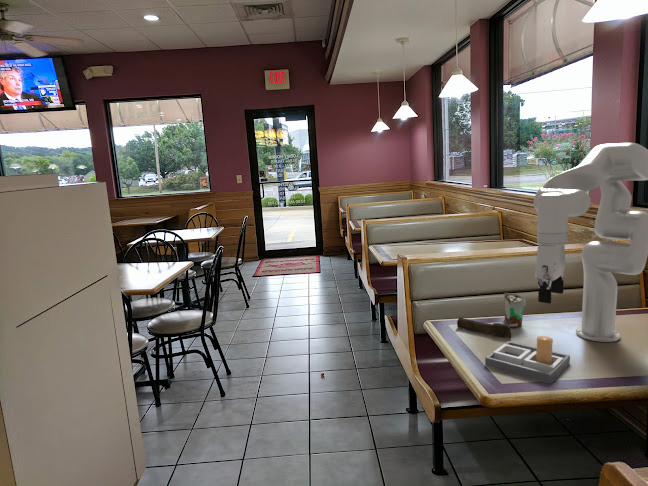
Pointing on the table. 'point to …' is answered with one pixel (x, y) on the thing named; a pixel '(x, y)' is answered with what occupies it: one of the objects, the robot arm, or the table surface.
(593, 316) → the robot arm
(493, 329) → the hand tool
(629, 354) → the table surface
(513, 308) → the food container
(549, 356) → the rounded peg
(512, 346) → the tray
